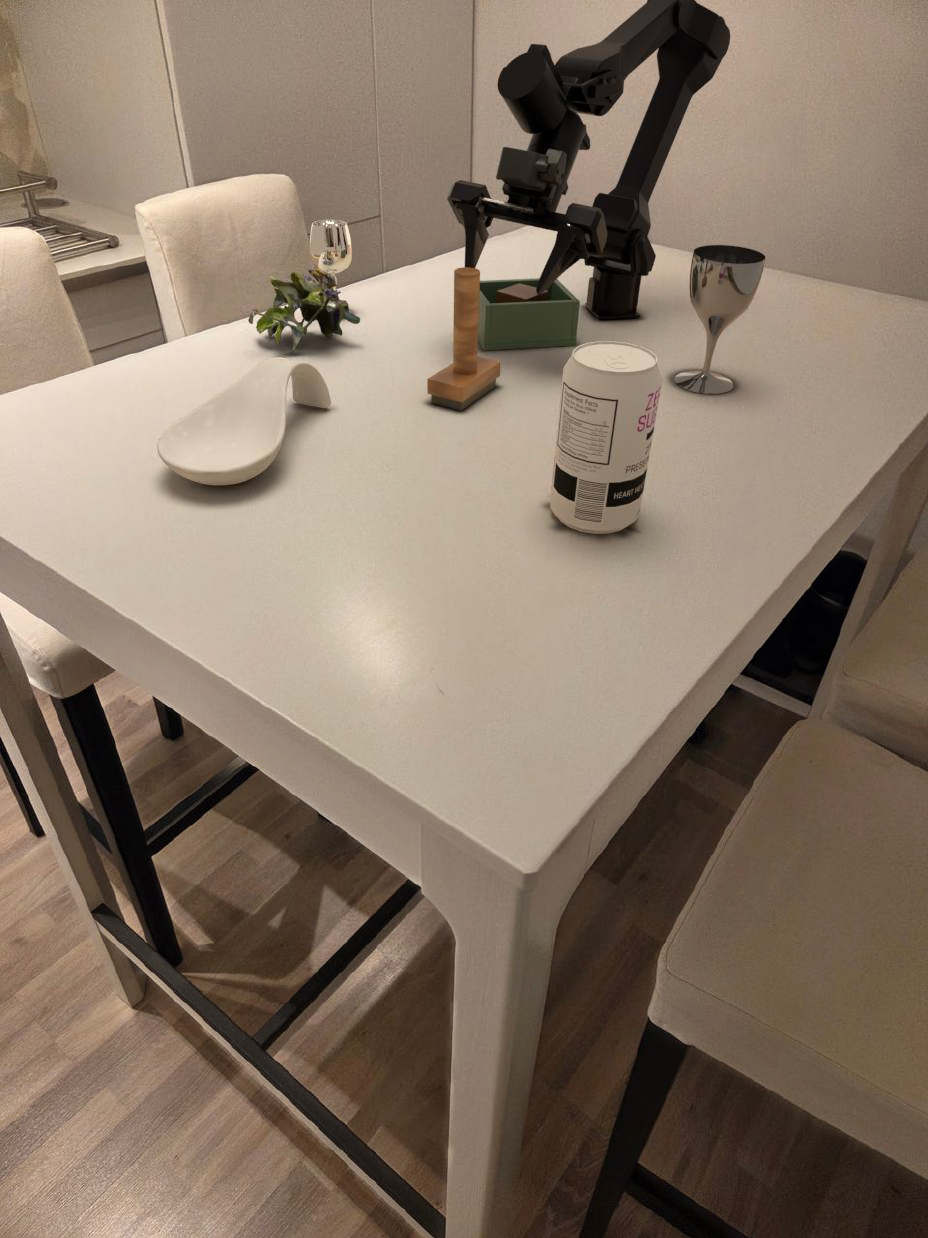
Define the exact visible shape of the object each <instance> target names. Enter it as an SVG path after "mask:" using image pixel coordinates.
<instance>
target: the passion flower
mask: <svg viewBox="0 0 928 1238" xmlns="http://www.w3.org/2000/svg"><path fill="white" fill-rule="evenodd" d="M307 272H308V274H310V276H309V275H308V276H307V275H304V274H301V273H300V272H299V271H298V270H293V271H291V272H290V275H288V276H287V278H285V280H286V281H283V280H281V279H277V278H275V277H273V276H271V275H270V277H269V281H270V283H271V285H272V287H273V288H274V292H275V294H276V295H275V297H274V298H273V303H272V307H269V308H267V310H266V311H265V312H264V313H260V312H259V310H258V309H257V308H252V311H251V312H250V315H249V317H248V319H247V321H248V323H249V324H250V325H253V323H254V317H256V315H258V316H260V318H258V320H257V321H256V326H255V328H256V331H257V332H258V333H259V334H260V335H261V334H262V333H264V332H265V331H267V336H268V337H269V338H272V337H273V335H274V336H275V337H274V338H275V340H276V343H277V344H279V345H280V343H281V337H282V333H283V331H284V329H285V328H286V327H289V328H290V329H291V338H292V342H293V344H292V349H291V352H290V354H289V355H290V356H292V355H294V352H295V350H296V348H297V347H298V344H299V342H300V341H301V340H302V338H303V337H304V336H305V335H306V334H307V333H308V328H309V327H310V326H311V325H312V323H313V322H315V321H317V324H318V327H319V329H320V332H321V334H322V335H324V336H325V337H329V338H331V337H333V334H334V335H339V336H343V329H342V328H341V322H342V321H343V320H346V321H348V322H349V323H351V324H353V325H358V324H360V322H361V317H359V316H357V315H355V314H353V313H352V312H351V311H350V308H349V303H348V302H347V300H345V299H340V296H339V295H340V294H341V293H342V291H341V290H340V291H338V289H336V290H334V289H333V287H335V286H336V287H338V283H337V284H336V281H335V280H334V279H333V278H332V277H331V274H329V273H325V272H323V271H321V270H319V269H318V268H315V270H314V269H311V268H309V269H308V271H307ZM311 276H312V277H313V278H314V279H313V278H312V277H311ZM289 278H290V279H289ZM316 281H317V282H318V284H317V282H316ZM283 304H287V306H286V305H284V307H281V306H282V305H283ZM298 309H299V311H300V314H301V317H302V319H301V321H298V320H297V319H296V317H295V312H296V311H297V310H298ZM350 312H351V313H350ZM289 322H290V323H289ZM304 322H307V323H306V324H305V325H304ZM291 323H293V324H291ZM294 324H295V325H294Z"/></svg>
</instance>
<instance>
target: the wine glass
mask: <svg viewBox="0 0 928 1238" xmlns="http://www.w3.org/2000/svg"><path fill="white" fill-rule="evenodd" d="M765 263H766V256H765V254H763V253H762V252H761V251H758V250H755V249H752V248H749V247H744V246H737V245H729V244H709V245H701V246H698V247H696V248H694V249H693V253H692V259H691V263H690V271H689V285H688V287H689V299H690V304H691V306H692V308H693V310H694V312H695V314H696V315H697V316H698V318H699V320H700V321H701V323H702V325H703V327H704V330H705V333H706V347H705V357H704V362H703V367H702V369H701V370H689V371H682V372H680V373H678V374H677V375H675V377H674V383H675V384H676V385H677V386H678V387H680V388H682V389H683V390H687V391H689V392H694V393H696V394H697V393H698V394H703V395H704V394H705V395H719V394H725V393H728V392H730V391H732V390H733V388H734V382H733V381H732V380H731V379H730V378H728V377H726V376H724V375H722V374H719V373H715V372H711V364H712V360H713V356H714V353H715V349H716V346H717V343H718V340H719V338H720V336H721V335H722V333H723V332H724V331H725V330H726V329H727V328H728V327H729V326H730V325H731V324H733V323H734V322H735V321H736V320H737V319H738V318H740V317H741V316H742V315H744V313H745V312H746V311H747V310H748V309H749V307H750V305H751V304H752V302H753V300H754V297H755V296H756V294H757V291H758V289H759V286H760V284H761V279H762V275H763V272H764V268H765Z"/></svg>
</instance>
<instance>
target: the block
mask: <svg viewBox="0 0 928 1238" xmlns="http://www.w3.org/2000/svg"><path fill="white" fill-rule="evenodd" d="M548 294H549V291H546V290H545V291H544V292H543V293H542V294H541V295H538V294H537V292H536V288H535V287H532V286H528V285H524V284H520V283H519V284H516V285H513V286H510V287H507V288H504V289H501V290H498V291H497V292H496V303H513V302H535V301H548Z"/></svg>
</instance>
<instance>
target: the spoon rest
mask: <svg viewBox="0 0 928 1238" xmlns="http://www.w3.org/2000/svg"><path fill="white" fill-rule="evenodd" d="M290 379H291V388H292V389H291V390H292V400H293V401H294V402H296V403H298V404H300V405H304V406H312V407H316V408H322V409H323V408H329V407H330V406H331V405H332V399H331V395H330V391H329V388H328V385H327V383H326V381H325V379H324V377H323V375H322V374H321V372H320V371H319V370H318V368H317V367H316V366H315V365H313V364H312V363H310V362H307V361H303V360H302V361H301V360H299V361H293V360H291V359H289V358H285V357H279V356H278V357H270V358H268V359H265V360H263V361H262V362H260V363H258V364H256V365H255V366H254V367H252V368H251V369H250V370H249V371H247V372H245V374H244V375H242V376H241V377H239V378H238V379H237V380H235V381H234V382H232V383H230V384H229V385H228V386H227V387H226V388H224V389H223V390H221V391H220V392H218V393H216V394H215V395H214V396H212V397H211V398H209V399H208V400H206V401H204V402H203V403H201V404H200V405H198V406H197V407H195V408H193V409H192V410H191V411H189V412H188V413H186V414H185V415H184V416H182V417H180V418H179V419H177V420H176V421H174V422H173V423H172V424H171V425H169V426H168V427H167V428H166V429H165V430H164V431H163V433H162V434H161V435H160V437H159V438H158V441H157V444H156V445H157V446H156V449H157V453H158V456H159V458H160V459H161V461H162V462H163V463H164V465H166V466H167V467H168V468H169V469H170V470H172V472H174V473H176V474H178V475H179V476H181V477H183V478H184V479H187V480H189V481H192V482H195V483H198V484H203V485H207V486H231V485H238V484H241V483H244V482H247V481H250V480H252V479H254V478H256V477H257V476H258V475H260V474H261V473H263V472H264V471H265V470H266V469H267V468H268V467H270V465H271V464H272V463H273V462H274V461H275V459H276V457H277V456H278V454H279V453H280V450H281V447H282V445H283V441H284V438H285V433H286V427H287V394H288V393H287V392H288V384H289V380H290Z"/></svg>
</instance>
